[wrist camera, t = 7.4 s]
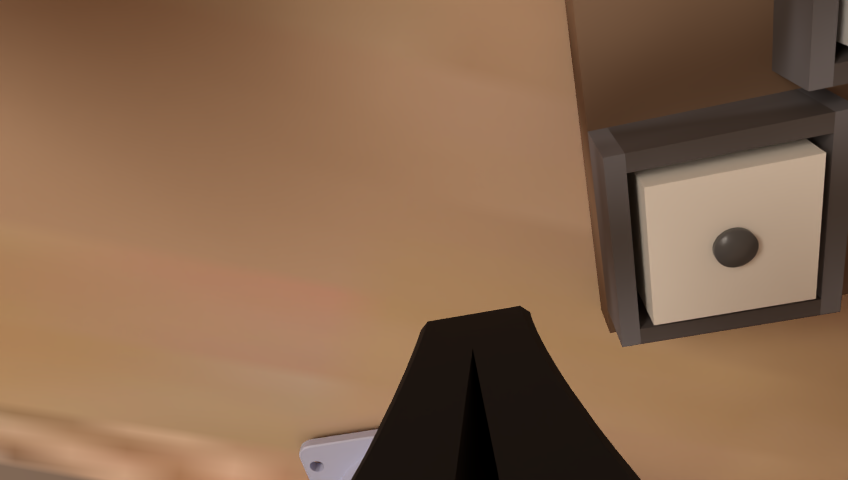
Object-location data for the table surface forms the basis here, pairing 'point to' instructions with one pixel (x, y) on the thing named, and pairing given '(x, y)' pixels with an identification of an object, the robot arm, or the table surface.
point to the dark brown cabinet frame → (705, 124)
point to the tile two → (842, 22)
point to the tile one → (728, 231)
